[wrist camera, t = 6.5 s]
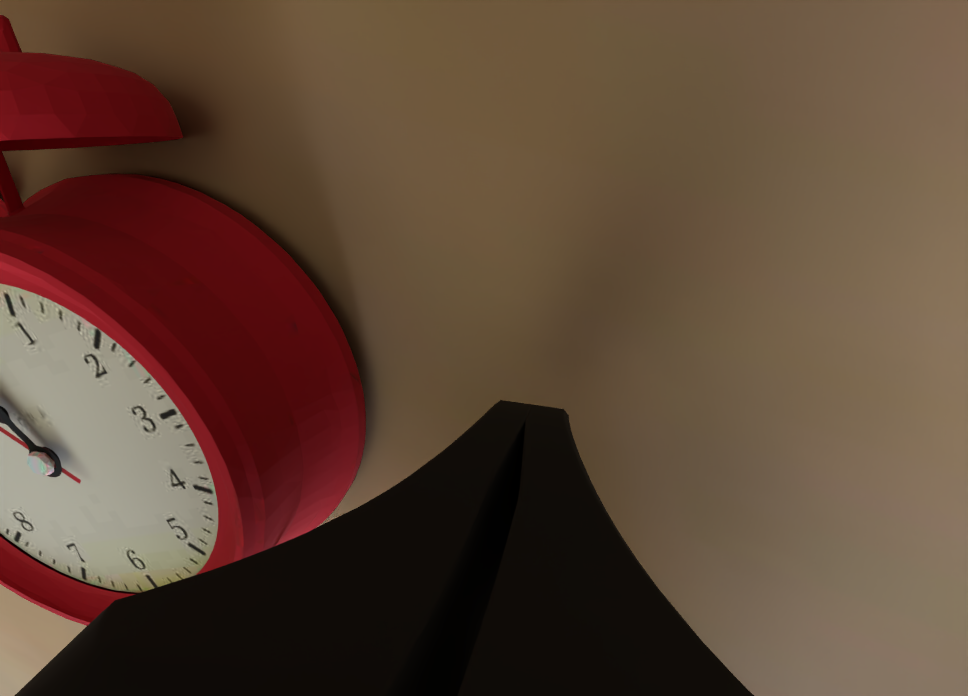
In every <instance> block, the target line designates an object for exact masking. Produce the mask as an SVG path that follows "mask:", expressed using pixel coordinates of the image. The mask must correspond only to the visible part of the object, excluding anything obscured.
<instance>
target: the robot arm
mask: <svg viewBox="0 0 968 696" xmlns="http://www.w3.org/2000/svg"><path fill="white" fill-rule="evenodd" d="M15 696H754V695H753V694H752V693H751V692H750V691H748V690H747V688H746V687H745V686H744V685H743V684H742V683H741V682H740V681H739V680H738V679H737V678H736V677H735V676H734V675H733V674H732V673H731V672H730V671H729V670H728V669H727V668H726V666H725V665H724V664H723V663H722V662H721V661H720V660H719V659H718V658H717V657H716V656H715V655H714V654H713V653H712V651H711V650H710V649H709V648H708V647H707V646H706V645H705V644H704V643H703V642H702V641H701V639H700V638H699V637H698V636H697V635H696V633H695V632H694V631H693V630H692V629H691V627H690V626H689V625H688V624H687V623H686V621H685V620H684V619H683V618H682V617H681V615H680V614H679V613H678V612H677V611H676V609H675V608H674V607H673V606H672V605H671V603H670V602H669V601H668V600H667V598H666V597H665V596H664V595H663V594H662V592H661V591H660V590H659V589H658V587H657V586H656V585H655V583H654V582H653V581H652V579H651V578H650V577H649V575H648V574H647V572H646V571H645V570H644V568H643V567H642V566H641V564H640V563H639V561H638V560H637V559H636V557H635V556H634V554H633V553H632V551H631V550H630V548H629V547H628V545H627V544H626V542H625V541H624V539H623V538H622V536H621V535H620V533H619V531H618V530H617V528H616V526H615V525H614V523H613V521H612V520H611V518H610V516H609V515H608V513H607V511H606V509H605V507H604V505H603V504H602V502H601V500H600V498H599V496H598V494H597V492H596V490H595V488H594V486H593V484H592V482H591V480H590V478H589V476H588V473H587V471H586V469H585V467H584V464H583V462H582V460H581V458H580V455H579V452H578V450H577V447H576V444H575V441H574V438H573V435H572V432H571V428H570V423H569V415H568V414H567V413H566V411H565V410H564V409H559V408H552V407H545V406H538V405H531V404H524V403H517V402H510V401H503V400H500V401H499V402H498V403H496V404H495V405H494V406H493V407H492V408H491V409H490V410H489V411H487V412H486V413H485V414H484V415H483V416H482V417H481V418H480V419H479V420H478V421H477V422H476V423H475V424H474V425H473V426H471V427H470V428H469V429H468V430H467V431H466V432H465V433H464V434H462V435H461V436H460V437H459V438H458V439H457V440H455V441H454V442H453V443H452V444H451V445H449V446H448V447H447V448H446V449H445V450H443V451H442V452H441V453H440V454H438V455H437V456H436V457H434V458H433V459H432V460H430V461H429V462H428V463H426V464H425V465H424V466H422V467H421V468H420V469H418V470H417V471H416V472H414V473H413V474H411V475H410V476H409V477H407V478H406V479H404V480H403V481H401V482H400V483H398V484H397V485H395V486H394V487H392V488H391V489H389V490H387V491H386V492H384V493H382V494H381V495H379V496H377V497H375V498H374V499H372V500H370V501H369V502H367V503H365V504H363V505H361V506H360V507H358V508H356V509H354V510H352V511H350V512H348V513H346V514H343V515H341V516H339V517H337V518H335V519H333V520H331V521H329V522H327V523H325V524H323V525H321V526H319V527H317V528H315V529H313V530H311V531H309V532H307V533H305V534H302V535H300V536H298V537H295V538H293V539H291V540H288V541H286V542H284V543H281V544H279V545H276V546H274V547H272V548H269V549H267V550H264V551H261V552H259V553H256V554H254V555H251V556H248V557H246V558H243V559H241V560H238V561H235V562H233V563H230V564H227V565H224V566H221V567H219V568H216V569H213V570H210V571H207V572H204V573H201V574H198V575H194V576H191V577H188V578H185V579H182V580H179V581H176V582H172V583H169V584H166V585H163V586H160V587H157V588H154V589H151V590H147V591H144V592H141V593H138V594H135V595H131V596H128V597H124V598H121V599H117V600H115V601H113V602H112V603H111V604H110V605H109V606H108V607H107V608H106V609H105V610H104V611H102V612H101V613H100V614H99V615H98V616H97V617H96V618H95V619H94V620H93V621H92V622H91V623H90V624H89V625H88V626H87V627H86V628H85V629H84V630H83V631H82V632H80V633H79V634H78V635H77V636H76V637H75V638H74V639H73V640H72V641H71V642H70V643H69V644H68V645H67V646H66V647H65V648H64V649H63V650H62V651H61V652H60V653H59V654H58V655H57V656H55V657H54V658H53V659H52V660H51V661H50V662H49V663H48V664H47V665H46V666H45V667H44V668H43V669H42V670H41V671H40V672H39V673H38V674H37V675H36V676H35V677H34V678H33V679H32V680H31V681H29V682H28V683H27V684H26V685H25V686H24V687H23V688H22V689H21V690H20V691H19V692H18V693H17V694H16V695H15Z"/></svg>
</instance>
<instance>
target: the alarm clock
mask: <svg viewBox="0 0 968 696" xmlns="http://www.w3.org/2000/svg"><path fill="white" fill-rule="evenodd" d="M180 138H183V135H182V132H181V129H180V126H179V123H178V120H177V118H176V116H175V114H174V111H173V109H172V107H171V105H170V103H169V102H168V100H167V99H166V98H165V97H164V96H163V95H162V94H161V93H160V91H159V90H158V89H157V88H156V87H155V86H154V85H153V84H152V83H150V82H148V81H147V80H145V79H143V78H142V77H140V76H138V75H137V74H135V73H133V72H130V71H127V70H124V69H121V68H118V67H115V66H112V65H108V64H105V63H101V62H98V61H95V60H91V59H84V58H76V57H68V56H61V55H53V54H45V53H24V52H22V51H21V48H20V46H19V44H18V41H17V39H16V36H15V34H14V31H13V29H12V26H11V23H10V21H9V19H8V18H6V17H5V16H3V15H0V192H1V194H2V197H3V199H4V202H5V203H4V202H3V201H2V200H1V199H0V584H1V585H3V586H4V587H6V588H8V589H9V590H11V591H13V592H14V593H16V594H18V595H19V596H21V597H23V598H24V599H26V600H28V601H30V602H32V603H34V604H36V605H38V606H40V607H42V608H44V609H46V610H49V611H51V612H53V613H55V614H57V615H60V616H62V617H64V618H66V619H69V620H72V621H75V622H78V623H81V624H84V625H87V626H88V625H89V624H90V623H91V622H92V621H93V620H94V619H95V618H96V617H97V616H98V615H99V614H100V613H101V612H102V611H104V610H105V609H106V608H107V607H108V606H109V605H110V604H111V603H112V602H113V601H115V600H117V599H121V598H124V597H128V596H131V595H135V594H138V593H141V592H144V591H147V590H151V589H154V588H157V587H160V586H163V585H166V584H169V583H172V582H176V581H179V580H182V579H185V578H188V577H191V576H194V575H198V574H201V573H204V572H207V571H210V570H213V569H216V568H219V567H221V566H224V565H227V564H230V563H233V562H235V561H238V560H241V559H243V558H246V557H248V556H251V555H254V554H256V553H259V552H261V551H264V550H267V549H269V548H272V547H274V546H276V545H279V544H281V543H284V542H286V541H288V540H291V539H293V538H295V537H298V536H300V535H302V534H305V533H307V532H309V531H311V530H313V529H315V528H316V527H317V526H318V525H320V524H321V523H322V522H323V521H324V520H325V519H326V518H327V517H328V516H329V515H330V514H331V513H332V512H333V511H334V510H335V508H336V507H337V506H338V504H339V503H340V502H341V500H342V499H343V497H344V496H345V494H346V492H347V491H348V489H349V487H350V486H351V484H352V483H353V481H354V478H355V476H356V473H357V471H358V468H359V466H360V463H361V459H362V455H363V449H364V444H365V434H366V412H365V401H364V394H363V389H362V384H361V380H360V377H359V373H358V369H357V365H356V362H355V360H354V357H353V354H352V351H351V349H350V347H349V344H348V342H347V339H346V337H345V335H344V332H343V330H342V328H341V326H340V324H339V322H338V320H337V319H336V317H335V315H334V314H333V312H332V310H331V309H330V307H329V305H328V304H327V302H326V301H325V299H324V298H323V296H322V295H321V293H320V291H319V290H318V289H317V287H316V286H315V285H314V284H313V282H312V281H311V280H310V279H309V277H308V276H307V275H306V274H305V273H304V272H303V270H302V269H301V268H300V267H299V266H298V265H297V263H296V262H295V261H294V260H293V259H292V258H291V256H290V255H289V254H288V253H287V252H285V251H284V250H283V249H282V248H281V247H280V246H279V245H278V244H277V243H276V242H275V241H274V240H272V239H271V238H270V237H269V236H268V235H266V234H265V233H264V232H263V231H262V230H260V229H259V228H258V227H257V226H256V225H254V224H253V223H252V222H250V221H249V220H248V219H246V218H245V217H244V216H242V215H241V214H239V213H237V212H236V211H234V210H233V209H231V208H229V207H228V206H226V205H224V204H222V203H220V202H219V201H217V200H215V199H213V198H211V197H209V196H207V195H205V194H203V193H201V192H199V191H196V190H194V189H191V188H188V187H186V186H183V185H181V184H178V183H175V182H171V181H168V180H164V179H159V178H154V177H149V176H143V175H138V174H101V175H89V176H82V177H74V178H67V179H64V180H62V181H59V182H57V183H55V184H53V185H51V186H48V187H46V188H44V189H42V190H40V191H38V192H37V193H36V194H34V195H33V196H31V197H30V198H28V199H27V200H26V201H25V202H24V203H23V204H22V201H21V198H20V196H19V193H18V191H17V188H16V186H15V183H14V181H13V178H12V176H11V173H10V171H9V168H8V166H7V163H6V161H5V158H4V156H3V153H2V151H16V150H40V149H60V148H79V147H95V146H110V145H124V144H137V143H149V142H159V141H168V140H177V139H180ZM8 212H9V215H8Z"/></svg>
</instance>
